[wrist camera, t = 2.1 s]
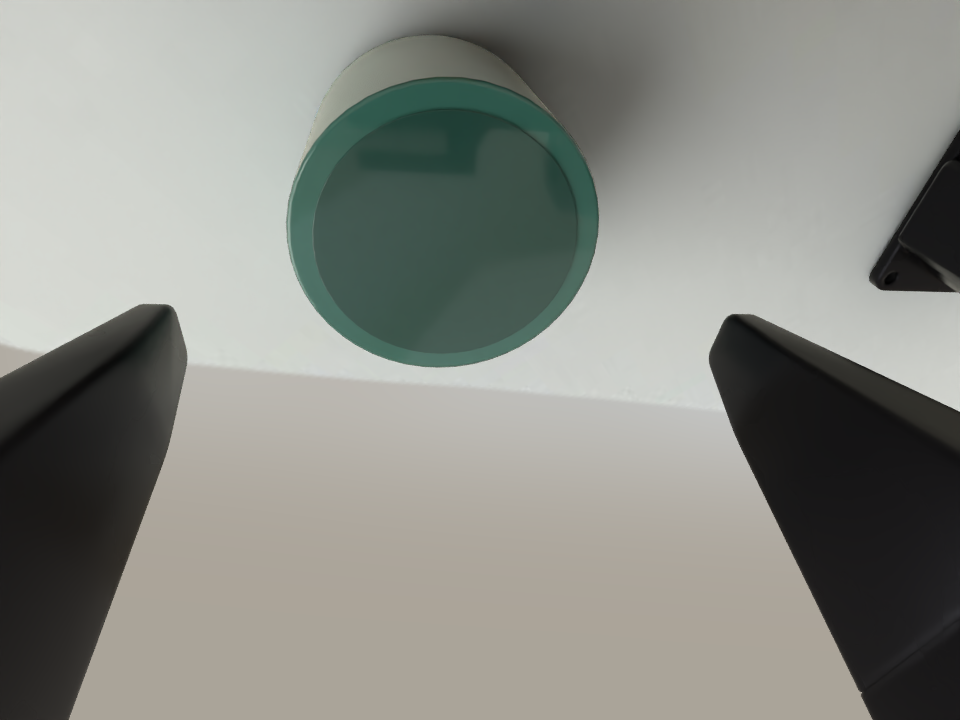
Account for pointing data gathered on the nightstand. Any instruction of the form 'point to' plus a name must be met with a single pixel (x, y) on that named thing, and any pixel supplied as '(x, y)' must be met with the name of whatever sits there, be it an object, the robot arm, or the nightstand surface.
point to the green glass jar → (439, 206)
